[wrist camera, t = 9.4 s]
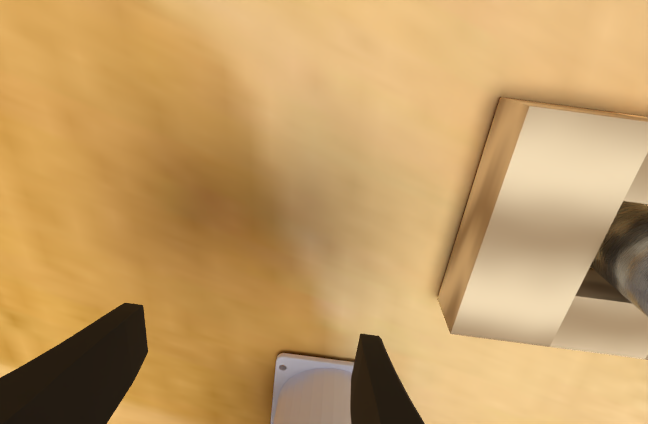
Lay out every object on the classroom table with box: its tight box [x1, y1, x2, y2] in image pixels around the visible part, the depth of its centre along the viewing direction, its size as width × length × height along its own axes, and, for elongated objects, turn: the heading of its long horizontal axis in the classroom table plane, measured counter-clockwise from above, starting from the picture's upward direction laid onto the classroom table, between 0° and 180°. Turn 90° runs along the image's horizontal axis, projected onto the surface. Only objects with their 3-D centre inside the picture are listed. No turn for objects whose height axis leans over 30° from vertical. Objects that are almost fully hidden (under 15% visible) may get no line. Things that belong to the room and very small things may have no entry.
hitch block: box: [438, 97, 648, 360], centre depth 18 cm, size 12×16×3 cm
